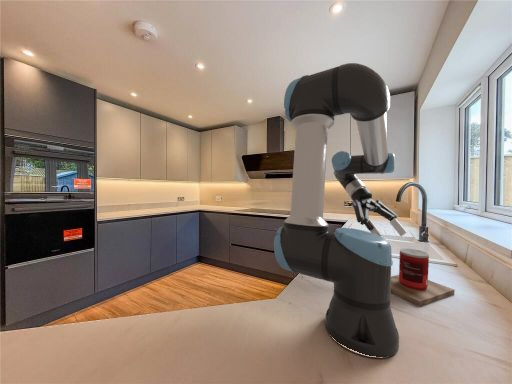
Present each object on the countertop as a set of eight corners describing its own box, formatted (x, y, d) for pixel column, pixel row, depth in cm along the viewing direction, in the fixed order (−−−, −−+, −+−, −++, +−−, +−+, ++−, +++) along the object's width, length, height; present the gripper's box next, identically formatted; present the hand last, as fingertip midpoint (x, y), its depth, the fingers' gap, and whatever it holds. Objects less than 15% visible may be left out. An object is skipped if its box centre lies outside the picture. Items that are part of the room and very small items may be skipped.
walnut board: (420, 306, 59) (420, 301, 59) (374, 284, 72) (374, 280, 72) (454, 294, 66) (454, 289, 66) (407, 276, 79) (407, 272, 79)
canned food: (417, 280, 73) (418, 248, 73) (434, 291, 65) (435, 256, 65) (393, 278, 74) (394, 247, 73) (407, 290, 66) (409, 255, 65)
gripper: (373, 198, 97) (406, 238, 83) (331, 199, 87) (360, 244, 74) (384, 187, 92) (421, 227, 78) (341, 186, 82) (374, 232, 69)
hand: (392, 235), depth 76 cm, fingers open, 13 cm apart
